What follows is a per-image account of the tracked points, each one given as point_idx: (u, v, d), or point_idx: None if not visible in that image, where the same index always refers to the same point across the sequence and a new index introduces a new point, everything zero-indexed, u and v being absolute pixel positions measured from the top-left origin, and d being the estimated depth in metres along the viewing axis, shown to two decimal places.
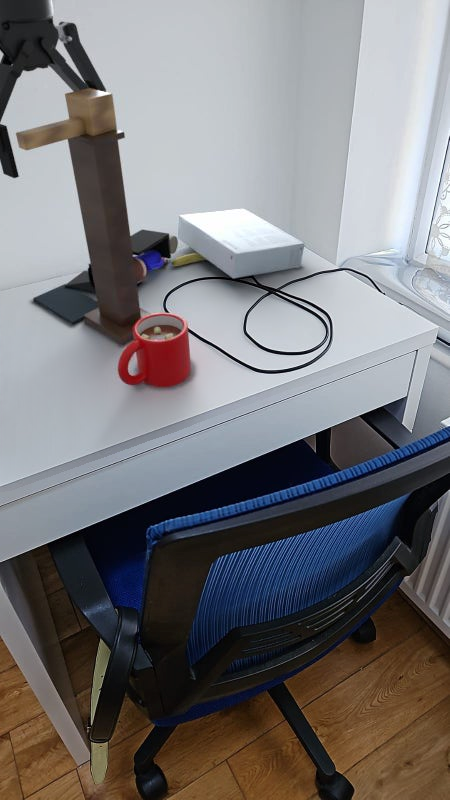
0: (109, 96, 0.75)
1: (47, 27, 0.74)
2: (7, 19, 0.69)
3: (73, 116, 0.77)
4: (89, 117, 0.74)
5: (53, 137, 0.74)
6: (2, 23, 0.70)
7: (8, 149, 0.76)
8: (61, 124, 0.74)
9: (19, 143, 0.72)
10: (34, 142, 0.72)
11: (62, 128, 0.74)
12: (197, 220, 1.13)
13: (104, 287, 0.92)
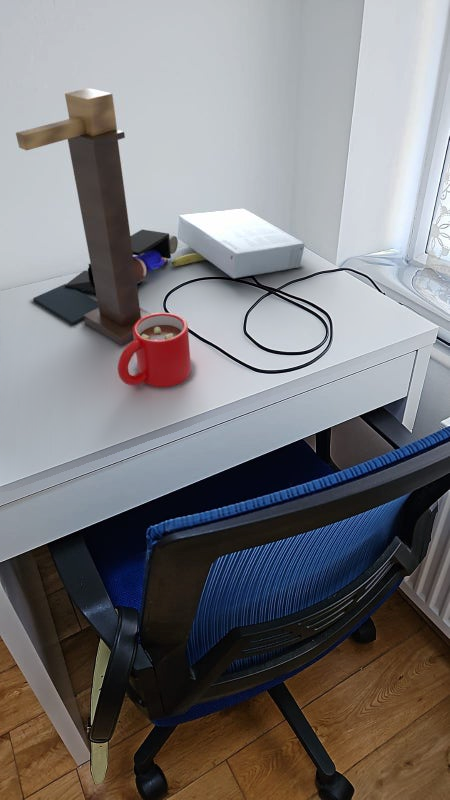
0: (109, 96, 0.75)
1: None
2: None
3: (73, 116, 0.77)
4: (89, 117, 0.74)
5: (53, 137, 0.74)
6: None
7: None
8: (61, 124, 0.74)
9: (19, 143, 0.72)
10: (34, 142, 0.72)
11: (62, 128, 0.74)
12: (197, 220, 1.13)
13: (104, 287, 0.92)
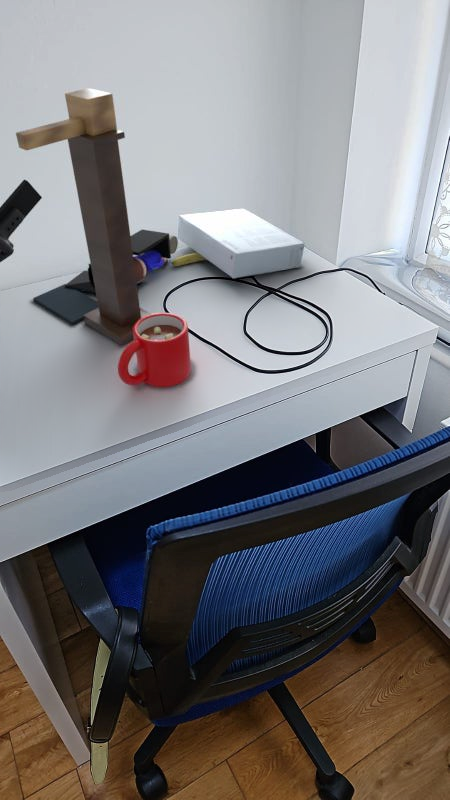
0: (109, 96, 0.75)
1: None
2: None
3: (73, 116, 0.77)
4: (89, 117, 0.74)
5: (53, 137, 0.74)
6: None
7: None
8: (61, 124, 0.74)
9: (19, 143, 0.72)
10: (34, 142, 0.72)
11: (62, 128, 0.74)
12: (197, 220, 1.13)
13: (104, 287, 0.92)
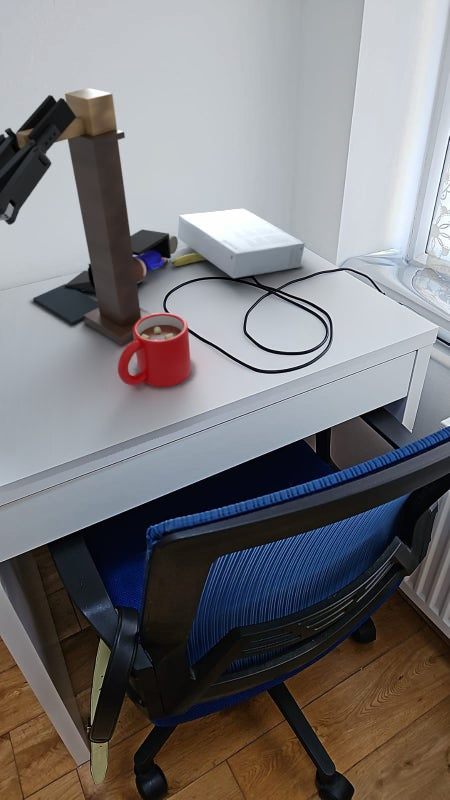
0: (109, 96, 0.75)
1: None
2: None
3: None
4: (89, 117, 0.74)
5: None
6: None
7: None
8: None
9: (19, 143, 0.72)
10: None
11: None
12: (197, 220, 1.13)
13: (104, 287, 0.92)
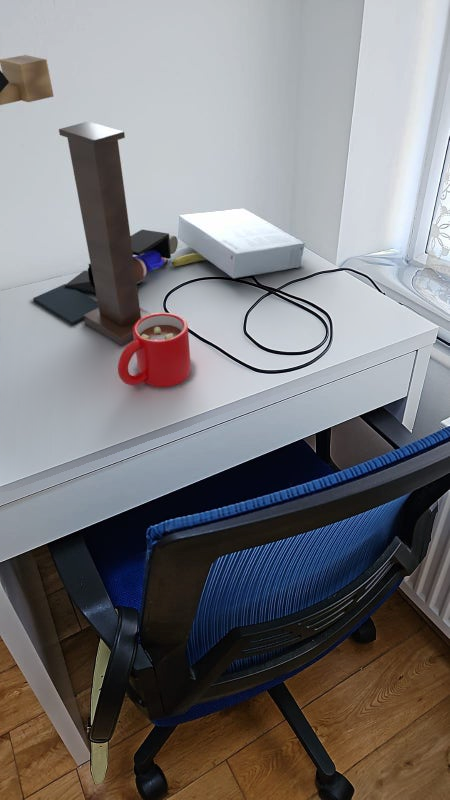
0: (43, 62, 0.75)
1: None
2: None
3: None
4: (23, 83, 0.74)
5: None
6: None
7: None
8: None
9: None
10: None
11: None
12: (197, 220, 1.13)
13: (104, 287, 0.92)
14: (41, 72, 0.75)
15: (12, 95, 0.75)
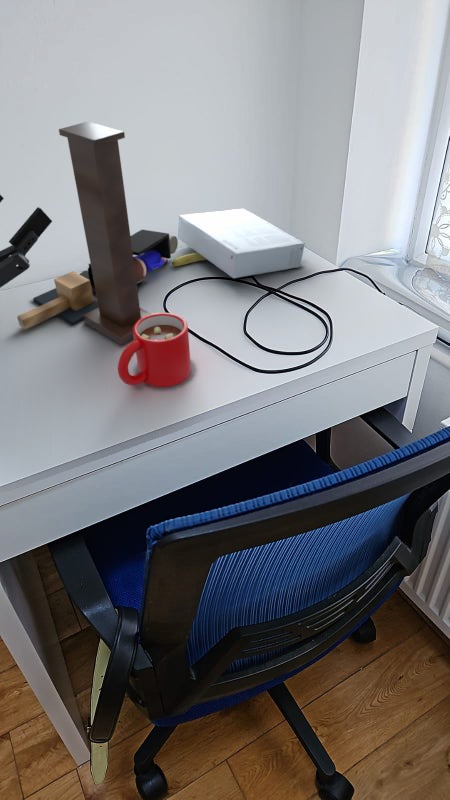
0: (87, 282, 0.99)
1: None
2: None
3: (60, 294, 1.01)
4: (72, 299, 0.99)
5: (45, 316, 0.98)
6: None
7: None
8: (51, 305, 0.98)
9: (19, 323, 0.96)
10: (31, 322, 0.96)
11: (52, 308, 0.98)
12: (197, 220, 1.13)
13: (104, 287, 0.92)
14: (85, 289, 1.00)
15: (64, 306, 1.00)
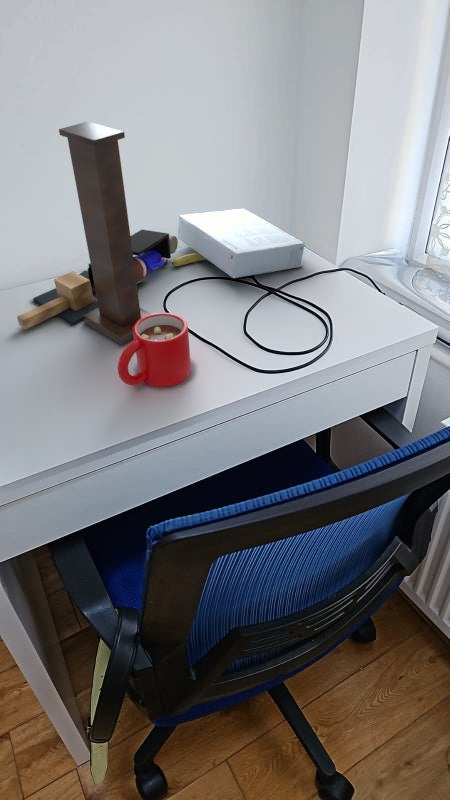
0: (87, 282, 0.99)
1: None
2: None
3: (60, 294, 1.01)
4: (72, 299, 0.99)
5: (45, 316, 0.98)
6: None
7: None
8: (51, 305, 0.98)
9: (19, 323, 0.96)
10: (31, 322, 0.96)
11: (52, 308, 0.98)
12: (197, 220, 1.13)
13: (104, 287, 0.92)
14: (85, 289, 1.00)
15: (64, 306, 1.00)
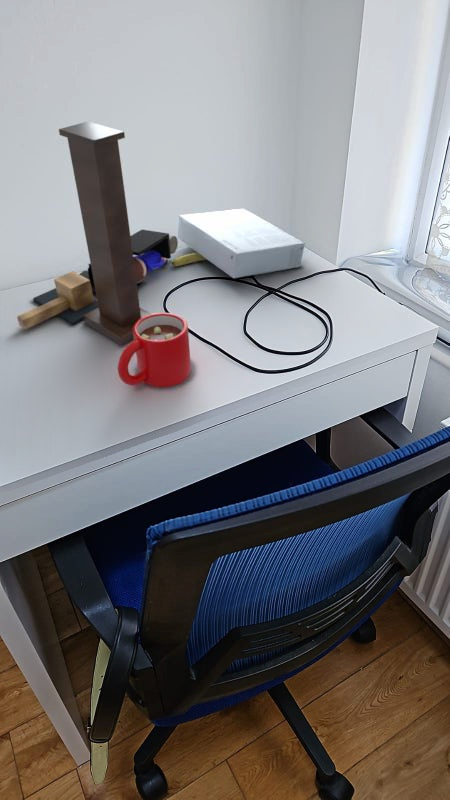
0: (87, 282, 0.99)
1: None
2: None
3: (60, 294, 1.01)
4: (72, 299, 0.99)
5: (45, 316, 0.98)
6: None
7: None
8: (51, 305, 0.98)
9: (19, 323, 0.96)
10: (31, 322, 0.96)
11: (52, 308, 0.98)
12: (197, 220, 1.14)
13: (104, 287, 0.92)
14: (85, 289, 1.00)
15: (64, 306, 1.00)
